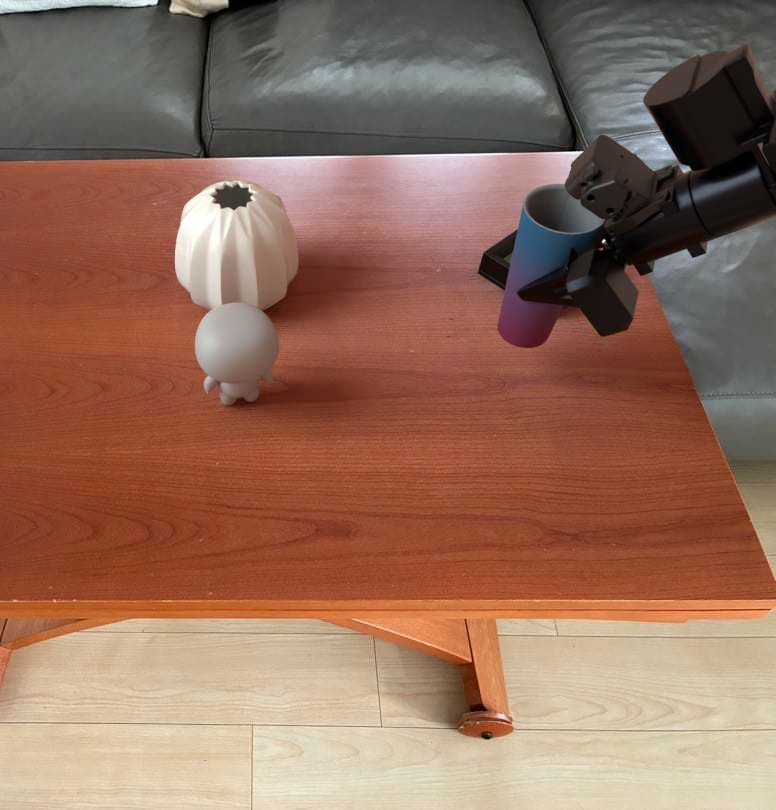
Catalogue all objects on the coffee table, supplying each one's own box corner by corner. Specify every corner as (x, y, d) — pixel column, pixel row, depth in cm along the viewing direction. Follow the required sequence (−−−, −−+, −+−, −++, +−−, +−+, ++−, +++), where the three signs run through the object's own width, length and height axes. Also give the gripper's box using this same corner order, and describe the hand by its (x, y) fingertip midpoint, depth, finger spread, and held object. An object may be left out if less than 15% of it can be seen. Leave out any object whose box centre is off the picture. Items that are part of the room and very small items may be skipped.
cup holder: (603, 277, 90) (612, 256, 87) (549, 319, 86) (557, 298, 83) (531, 235, 95) (538, 214, 92) (477, 273, 91) (483, 252, 88)
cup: (550, 363, 74) (598, 242, 62) (480, 342, 76) (514, 222, 64) (565, 317, 78) (614, 194, 66) (498, 298, 80) (533, 176, 68)
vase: (310, 264, 93) (315, 169, 82) (271, 344, 85) (271, 251, 75) (206, 240, 96) (197, 146, 86) (159, 315, 89) (144, 222, 78)
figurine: (270, 367, 83) (269, 285, 74) (284, 422, 78) (286, 342, 69) (196, 379, 82) (186, 298, 73) (206, 435, 78) (197, 356, 68)
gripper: (669, 62, 62) (502, 153, 74) (639, 195, 52) (450, 275, 64) (731, 167, 66) (562, 237, 78) (714, 309, 56) (523, 365, 68)
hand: (526, 273), depth 72 cm, fingers closed on cup, 6 cm apart
